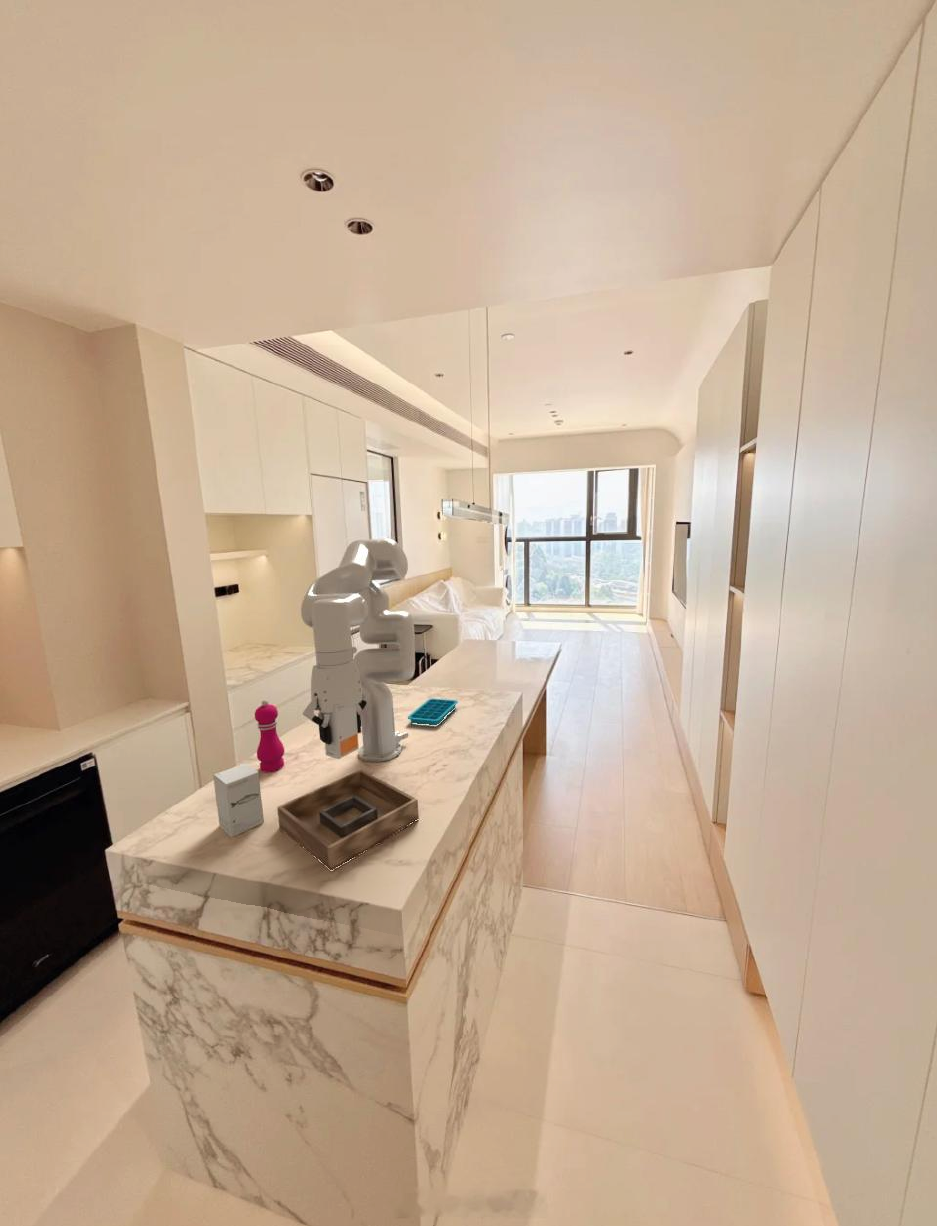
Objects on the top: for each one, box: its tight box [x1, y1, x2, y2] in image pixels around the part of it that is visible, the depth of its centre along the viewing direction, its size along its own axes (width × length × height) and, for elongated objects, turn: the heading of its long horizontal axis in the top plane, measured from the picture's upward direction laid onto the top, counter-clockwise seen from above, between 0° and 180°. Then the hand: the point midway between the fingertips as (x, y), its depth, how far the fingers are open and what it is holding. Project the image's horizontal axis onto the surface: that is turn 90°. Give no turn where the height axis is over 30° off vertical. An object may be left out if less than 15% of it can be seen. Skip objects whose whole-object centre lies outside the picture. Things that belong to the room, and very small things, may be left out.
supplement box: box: [212, 762, 265, 838], centre depth 107 cm, size 7×7×13 cm
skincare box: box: [324, 704, 360, 760], centre depth 103 cm, size 6×4×12 cm
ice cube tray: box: [407, 698, 459, 725], centre depth 169 cm, size 12×20×3 cm, turn 161°
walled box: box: [276, 769, 420, 871], centre depth 106 cm, size 22×22×5 cm
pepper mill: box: [254, 699, 285, 773], centre depth 134 cm, size 7×7×20 cm
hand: (341, 736), depth 103 cm, fingers closed on skincare box, 6 cm apart
